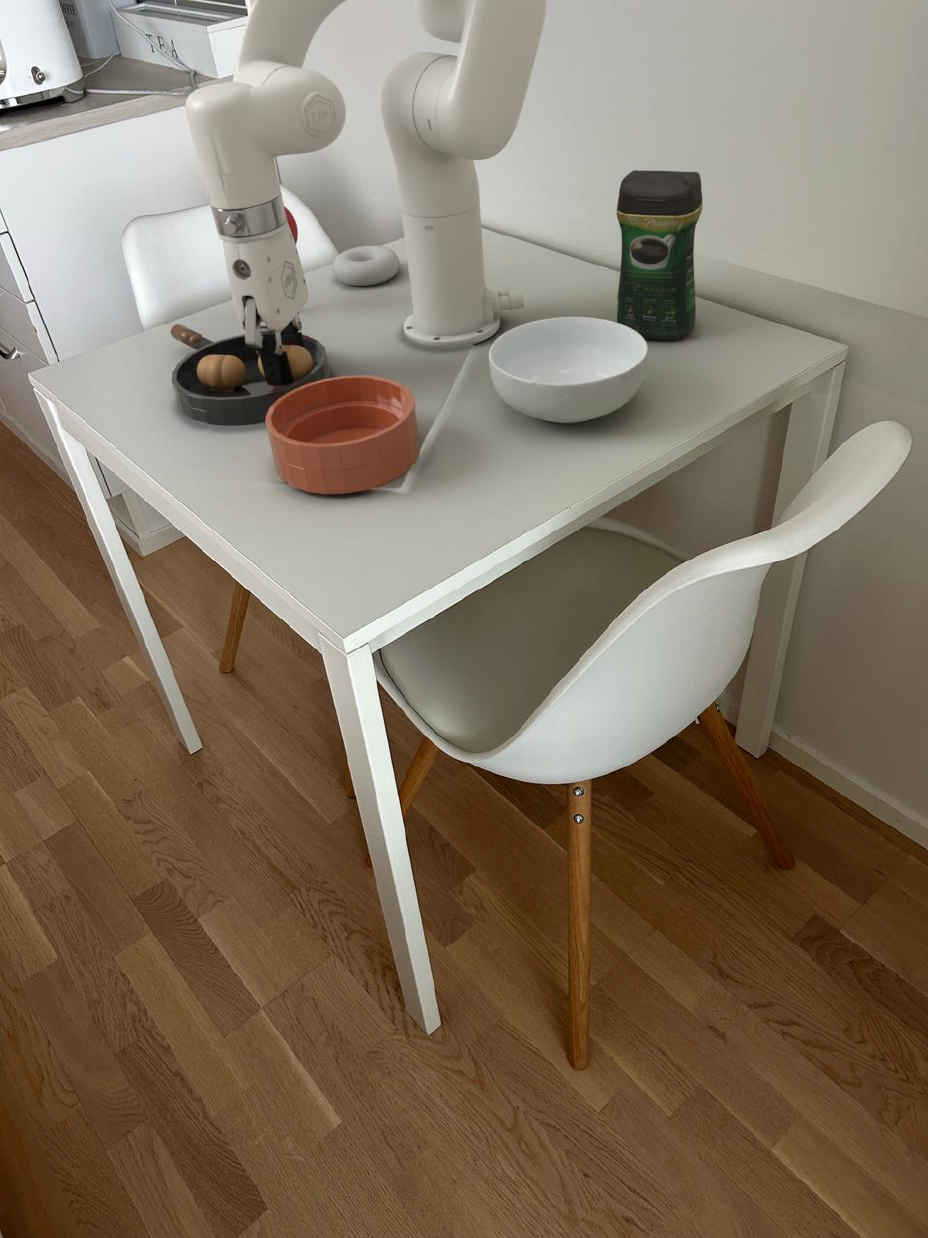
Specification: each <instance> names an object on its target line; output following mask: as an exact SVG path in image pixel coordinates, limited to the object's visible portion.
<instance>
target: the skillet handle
mask: <svg viewBox="0 0 928 1238" xmlns="http://www.w3.org/2000/svg"><path fill="white" fill-rule="evenodd" d="M170 334H171V336H172V338H173V339H174V340H176V341H178V342H180V343H182V344H183V345H186V346H188V347H189V348H192V349H193V350H198V349H200V348H201V347H204V346H206V345H209V344H211V343H214V342H215V341H212V340H210V339H209V338H207V337H204V336H203V335H202V334H201V333H199V332H197V331H195V330H193V329H191V328H189V327H187V326H185V325H183V324H180V323H176V324H174V325H172V326H171V328H170Z"/></svg>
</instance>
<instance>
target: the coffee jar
mask: <svg viewBox="0 0 928 1238" xmlns="http://www.w3.org/2000/svg"><path fill="white" fill-rule="evenodd" d="M703 205H704V202H703V190H702V179H701V175H700V173H699V172H698V171H680V170H679V171H678V170H677V171H674V170H637V169H634V170H632V171H630V172H629V173H627V174H626V176H624V178H623V179H622V180H621V183H620V187H619V190H618V198H617V204H616V218H617V219H616V220H617V221H618V225H619V228H620V233H621V256H620V257H621V258H620V271H619V280H618V291H617V299H616V309H615V322H616V323H619V324H622V325H625V326H627V327H629V328H631V329H633V330H634V331H636V332H637V333H639V334H640V335H641V336H642V337H643V338H644V339H650V340H676V339H678V338H681V337H684V336H685V335H688V334H689V333H690V331H691V330H692V329H693V327H694V325H695V323H696V315H697V314H696V313H697V312H696V311H697V310H696V309H697V308H696V307H697V305H696V304H697V303H696V282H695V259H694V258H695V256H694V255H695V251H694V250H695V234H696V227H697V223H698V221H699V220H700V217H701V215H702V211H703Z"/></svg>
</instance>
